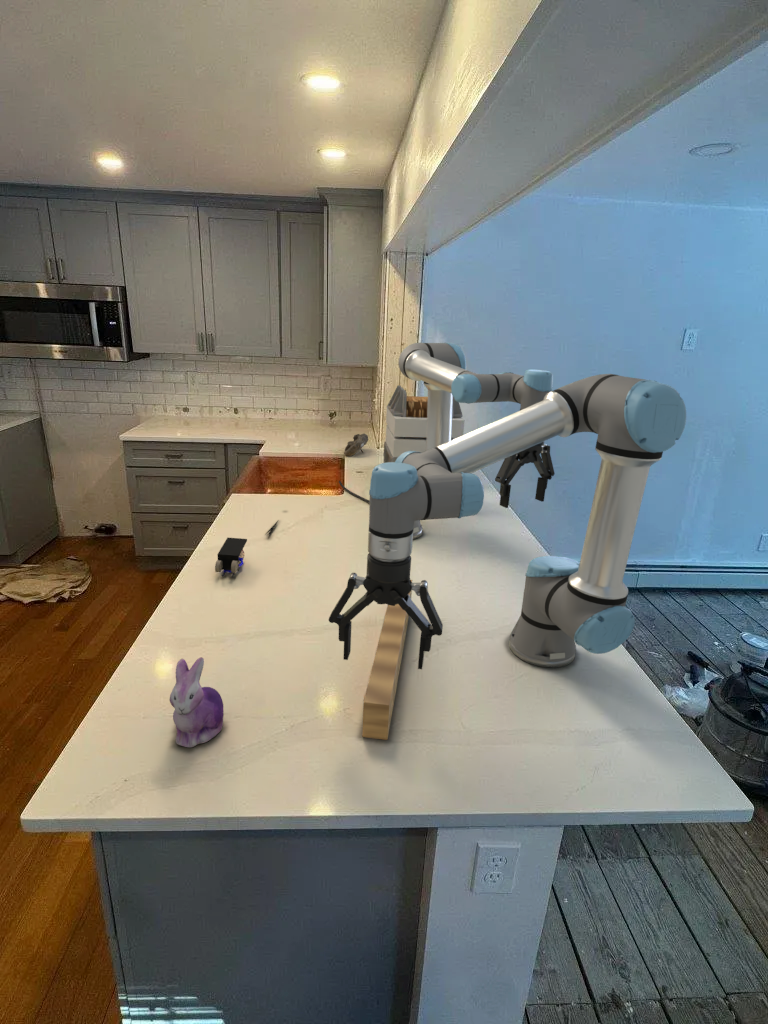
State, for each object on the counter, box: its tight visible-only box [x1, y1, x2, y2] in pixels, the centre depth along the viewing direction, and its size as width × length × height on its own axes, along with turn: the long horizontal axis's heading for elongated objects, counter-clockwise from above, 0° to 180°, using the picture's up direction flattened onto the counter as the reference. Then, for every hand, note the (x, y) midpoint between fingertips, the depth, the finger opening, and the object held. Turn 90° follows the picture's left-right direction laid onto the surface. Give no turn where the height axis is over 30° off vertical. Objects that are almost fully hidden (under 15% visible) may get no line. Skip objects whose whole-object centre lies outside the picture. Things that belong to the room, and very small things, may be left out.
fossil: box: [343, 432, 369, 457], centre depth 306 cm, size 22×10×15 cm
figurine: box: [169, 657, 225, 748], centre depth 102 cm, size 9×10×15 cm
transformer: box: [383, 384, 465, 463], centre depth 268 cm, size 34×33×41 cm
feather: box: [265, 520, 279, 539], centre depth 203 cm, size 2×28×2 cm
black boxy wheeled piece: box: [214, 537, 248, 578], centre depth 166 cm, size 7×8×15 cm
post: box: [361, 579, 413, 741], centre depth 127 cm, size 51×5×8 cm, turn 173°
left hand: (521, 503), depth 160 cm, fingers open, 13 cm apart
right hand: (383, 660), depth 104 cm, fingers open, 13 cm apart
